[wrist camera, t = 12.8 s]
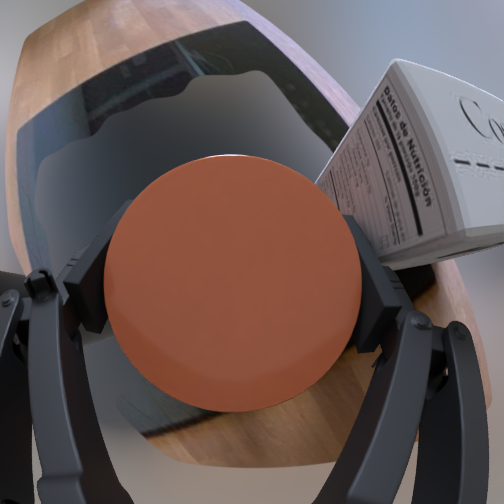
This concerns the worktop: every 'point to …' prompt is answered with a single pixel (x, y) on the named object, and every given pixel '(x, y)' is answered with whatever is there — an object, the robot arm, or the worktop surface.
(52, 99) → the worktop surface
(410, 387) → the robot arm
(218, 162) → the terracotta cap
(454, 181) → the cereal box
